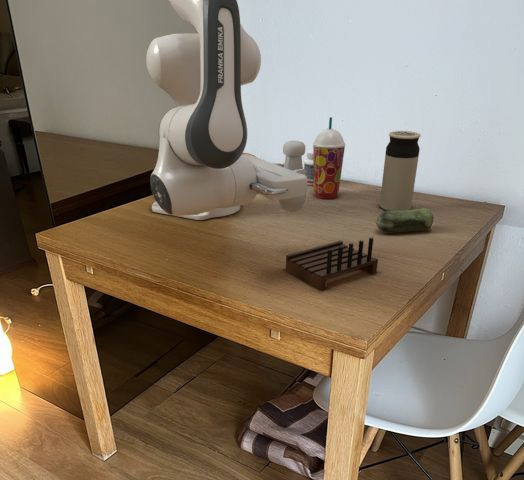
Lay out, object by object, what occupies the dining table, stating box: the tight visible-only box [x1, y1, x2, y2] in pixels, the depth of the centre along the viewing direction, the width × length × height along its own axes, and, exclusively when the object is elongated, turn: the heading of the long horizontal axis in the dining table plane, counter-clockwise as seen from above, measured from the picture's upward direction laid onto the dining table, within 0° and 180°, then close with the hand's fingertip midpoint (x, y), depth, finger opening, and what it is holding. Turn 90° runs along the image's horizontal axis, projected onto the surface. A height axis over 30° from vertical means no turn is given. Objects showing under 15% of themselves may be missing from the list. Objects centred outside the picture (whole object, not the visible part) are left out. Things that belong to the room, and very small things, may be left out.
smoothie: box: [312, 116, 346, 200], centre depth 143 cm, size 8×8×20 cm
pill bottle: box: [303, 149, 314, 186], centre depth 157 cm, size 5×5×9 cm
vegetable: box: [374, 207, 435, 234], centre depth 124 cm, size 14×5×5 cm, turn 102°
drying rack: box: [285, 237, 379, 291], centre depth 105 cm, size 11×14×7 cm
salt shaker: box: [278, 140, 308, 212], centre depth 108 cm, size 6×6×13 cm
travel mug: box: [379, 130, 421, 211], centre depth 135 cm, size 8×8×18 cm
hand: (296, 170), depth 107 cm, fingers closed on salt shaker, 3 cm apart
